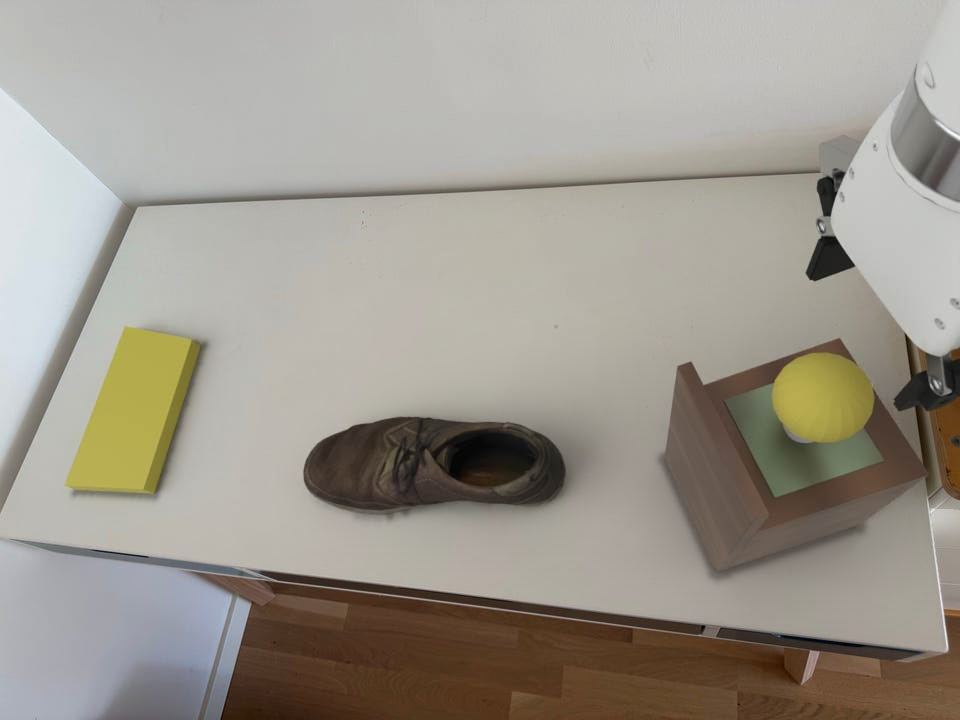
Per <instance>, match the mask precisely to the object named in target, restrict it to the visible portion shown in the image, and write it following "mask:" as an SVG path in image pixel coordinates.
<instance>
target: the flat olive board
mask: <svg viewBox="0 0 960 720" xmlns="http://www.w3.org/2000/svg"><path fill="white" fill-rule="evenodd" d="M201 348H202V347H201V345H200V344H199V343H197V342H196V341H195V340H193V339H191V338H188V337H187V338H186V337H182V336H177V335H172V334H167V333H161V332H157V331H152V330H145V329H143V328H137V327H132V326H127V325H124V327H123V330H122V332H121V335H120V338H119V341H118V343H117V346H116V348H115V351H114V354H113V356H112V358H111V361H110V363H109V367H108V369H107V372H106V374H105V377H104V380H103V382H102V385H101V387H100V391H99V393H98V396H97V398H96V401H95V404H94V406H93V409H92V412H91V414H90V416H89V420H88V422H87V426H86V428H85V430H84V433H83V436H82V438H81V441H80V443H79V446H78V449H77V451H76V454H75V456H74V460H73V462H72V464H71V467H70V470H69V472H68V475H67V477H66V481H65V483H64V486H65V487H68V488H70V489H72V490H76V491H89V492H91V491H93V492H111V493H113V492H114V493H129V494H130V493H131V494H133V493H134V494H151V495H154V494H155V493H156V490H157V488H158V484H159V481H160V478H161V477H160V476H161V474H162V472H163V468H164V465H165V462H166V459H167V455H168V453H169V449H170V446H171V442H172V439H173V436H174V433H175V431H176V427H177V425H178V421H179V417H180V414H181V411H182V408H183V405H184V402H185V398H186V395H187V392H188V389H189V385H190V383H191V379H192V377H193V373H194V369H195V367H196V364H197V360H198V357H199V355H200V351H201Z"/></svg>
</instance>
